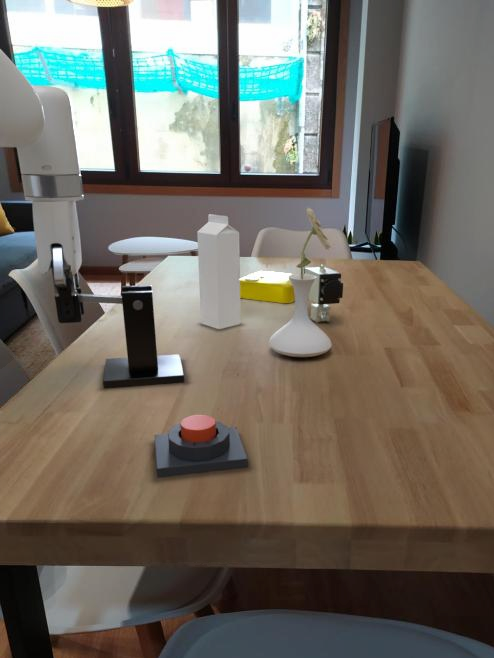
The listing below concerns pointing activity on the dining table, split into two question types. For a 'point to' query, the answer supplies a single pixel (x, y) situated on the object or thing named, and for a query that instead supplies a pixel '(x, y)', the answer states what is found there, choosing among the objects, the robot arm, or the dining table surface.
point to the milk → (219, 273)
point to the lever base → (141, 346)
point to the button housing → (199, 452)
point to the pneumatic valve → (324, 291)
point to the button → (198, 428)
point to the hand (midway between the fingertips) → (71, 317)
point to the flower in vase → (302, 311)
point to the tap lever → (100, 298)
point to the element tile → (267, 287)
